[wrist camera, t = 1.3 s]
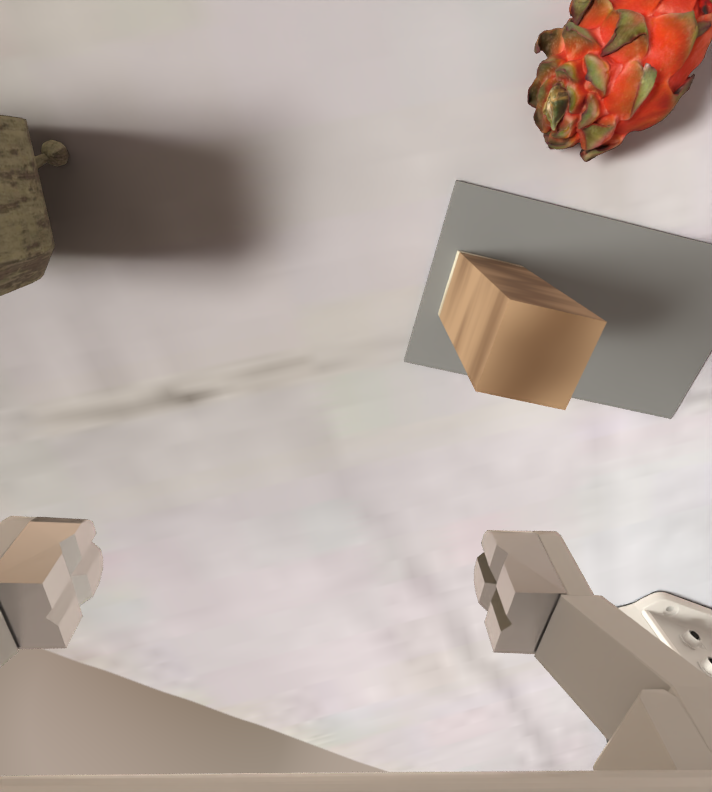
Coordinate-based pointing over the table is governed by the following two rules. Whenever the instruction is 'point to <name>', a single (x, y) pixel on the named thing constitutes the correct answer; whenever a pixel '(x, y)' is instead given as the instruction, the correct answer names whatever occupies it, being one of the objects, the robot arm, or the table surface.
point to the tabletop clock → (24, 205)
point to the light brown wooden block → (516, 331)
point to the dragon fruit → (616, 69)
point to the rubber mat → (587, 292)
